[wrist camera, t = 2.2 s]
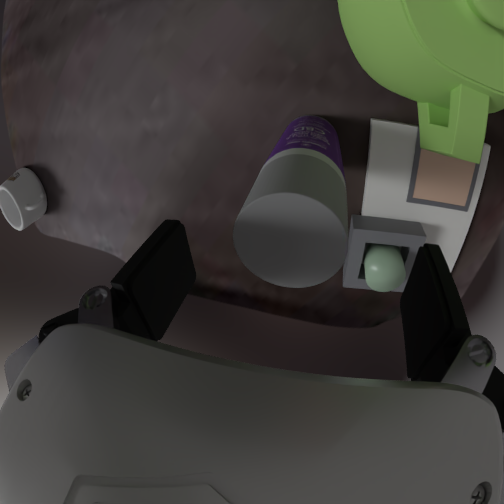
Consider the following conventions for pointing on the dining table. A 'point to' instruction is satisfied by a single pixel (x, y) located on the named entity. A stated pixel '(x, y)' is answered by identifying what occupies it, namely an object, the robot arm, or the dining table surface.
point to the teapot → (435, 63)
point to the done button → (383, 267)
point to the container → (297, 209)
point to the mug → (23, 198)
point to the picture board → (411, 200)
